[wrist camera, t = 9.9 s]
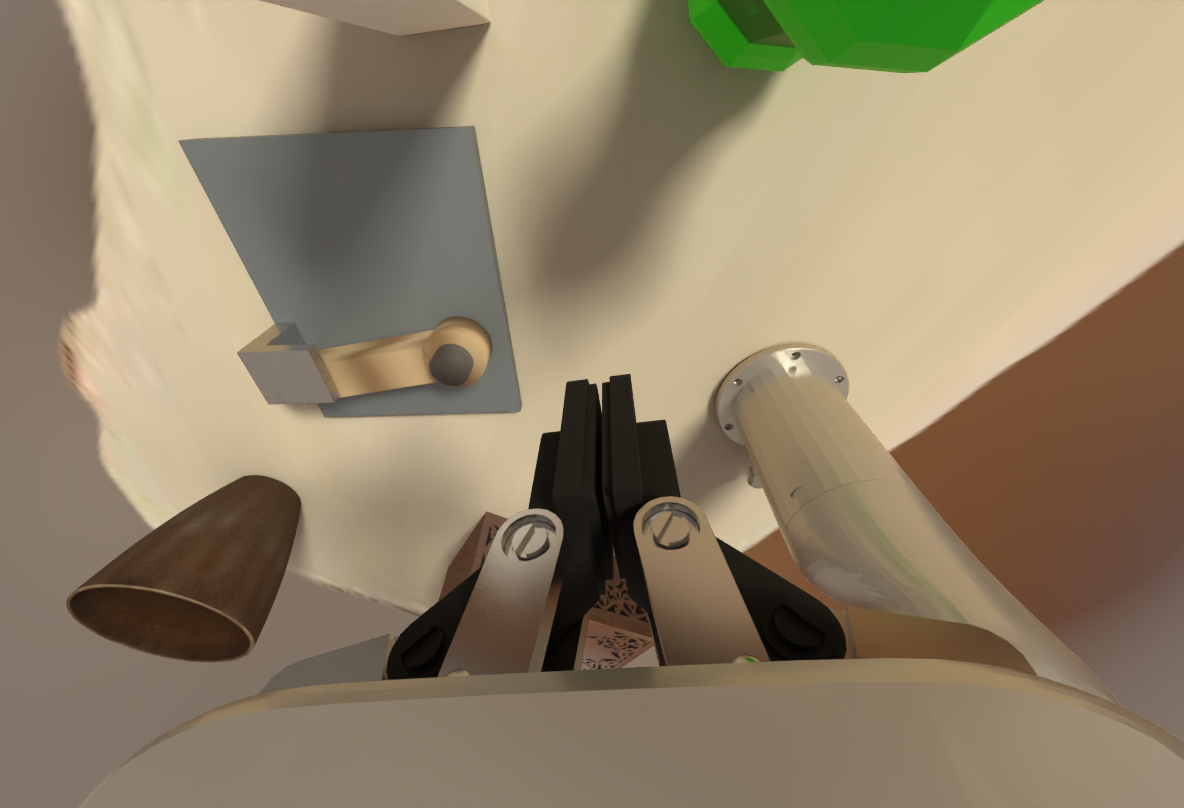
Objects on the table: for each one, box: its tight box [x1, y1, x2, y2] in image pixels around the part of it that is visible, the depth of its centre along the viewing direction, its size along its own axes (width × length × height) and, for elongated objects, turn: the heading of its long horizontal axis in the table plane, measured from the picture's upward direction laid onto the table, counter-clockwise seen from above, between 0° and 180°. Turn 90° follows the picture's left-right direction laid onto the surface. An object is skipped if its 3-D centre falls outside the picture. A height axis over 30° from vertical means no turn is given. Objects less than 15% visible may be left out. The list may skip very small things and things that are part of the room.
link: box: [318, 316, 492, 398], centre depth 37 cm, size 16×5×4 cm, turn 101°
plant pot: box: [66, 475, 301, 662], centre depth 46 cm, size 15×15×16 cm
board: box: [179, 126, 522, 417], centre depth 36 cm, size 24×20×1 cm
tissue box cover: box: [438, 512, 654, 670], centre depth 58 cm, size 26×14×10 cm, turn 60°
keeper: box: [237, 322, 340, 404], centre depth 37 cm, size 5×6×6 cm
